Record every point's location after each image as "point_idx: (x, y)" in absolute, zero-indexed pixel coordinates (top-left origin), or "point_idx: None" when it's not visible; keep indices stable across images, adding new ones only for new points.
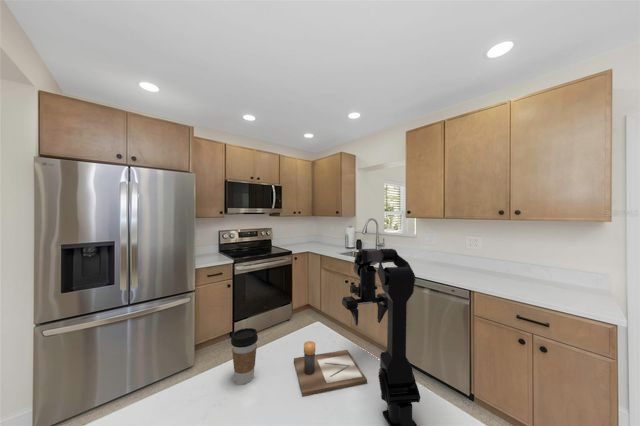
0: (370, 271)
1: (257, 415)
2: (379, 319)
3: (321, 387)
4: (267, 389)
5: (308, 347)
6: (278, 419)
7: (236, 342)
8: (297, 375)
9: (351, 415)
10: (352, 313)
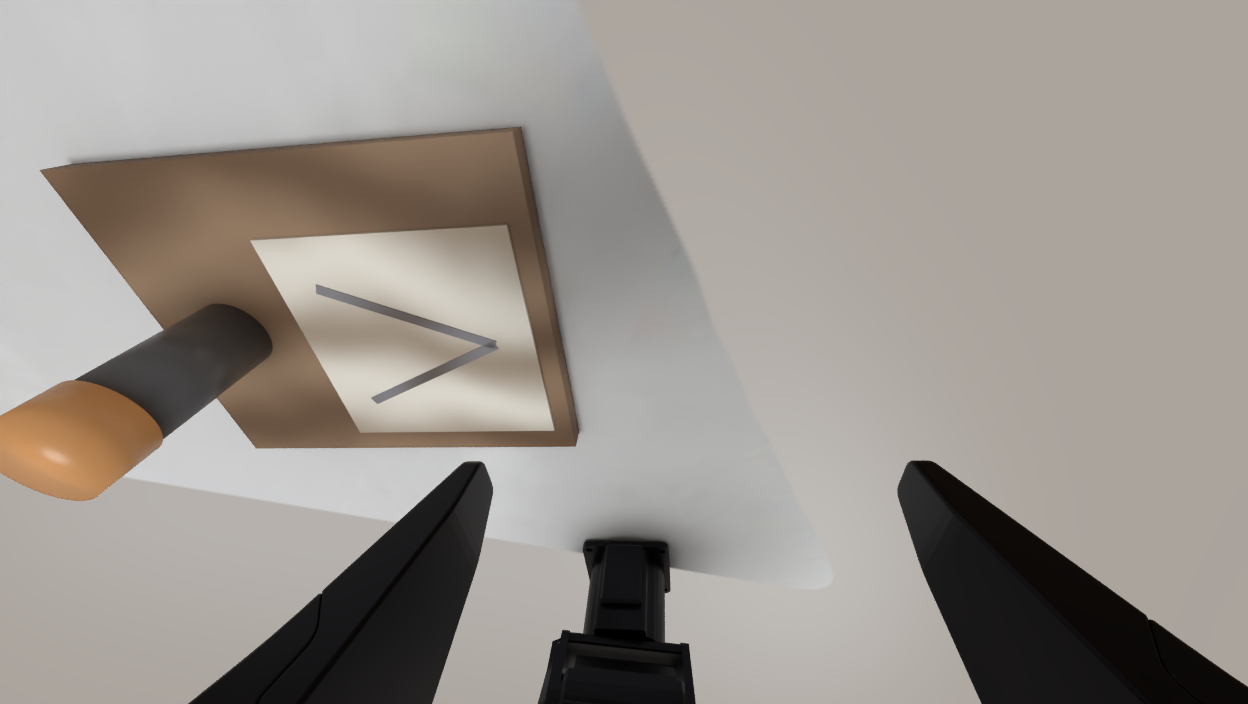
0: None
1: (136, 467)
2: (926, 564)
3: (339, 443)
4: (78, 371)
5: (58, 496)
6: (222, 491)
7: None
8: None
9: None
10: (279, 677)
